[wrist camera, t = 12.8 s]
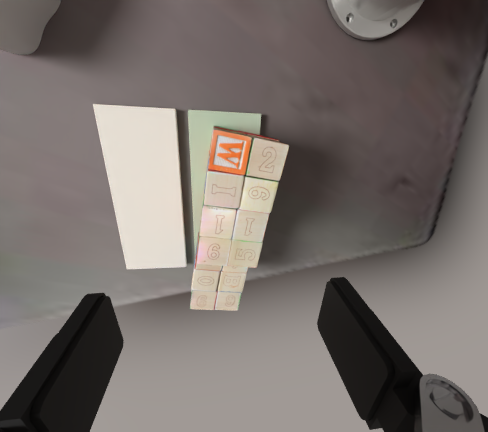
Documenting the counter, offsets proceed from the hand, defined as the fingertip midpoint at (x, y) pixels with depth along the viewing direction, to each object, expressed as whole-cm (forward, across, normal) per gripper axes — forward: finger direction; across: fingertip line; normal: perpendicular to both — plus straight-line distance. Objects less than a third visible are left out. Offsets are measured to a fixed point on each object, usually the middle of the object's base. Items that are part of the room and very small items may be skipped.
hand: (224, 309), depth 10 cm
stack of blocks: (+23, -1, +4) cm, 23 cm away
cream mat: (+24, +10, +3) cm, 26 cm away
